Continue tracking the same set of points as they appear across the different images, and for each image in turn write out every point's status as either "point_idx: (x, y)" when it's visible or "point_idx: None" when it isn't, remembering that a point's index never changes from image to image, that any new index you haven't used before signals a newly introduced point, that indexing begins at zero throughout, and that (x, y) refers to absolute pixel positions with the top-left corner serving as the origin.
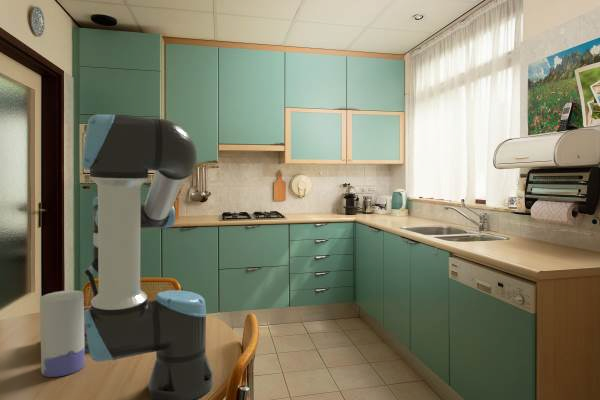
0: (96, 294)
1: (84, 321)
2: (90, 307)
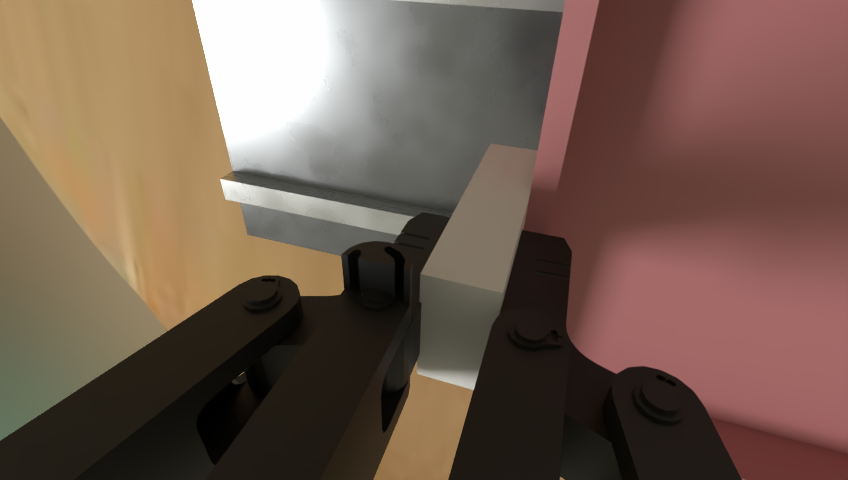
0: (678, 460)
1: (769, 217)
2: None
